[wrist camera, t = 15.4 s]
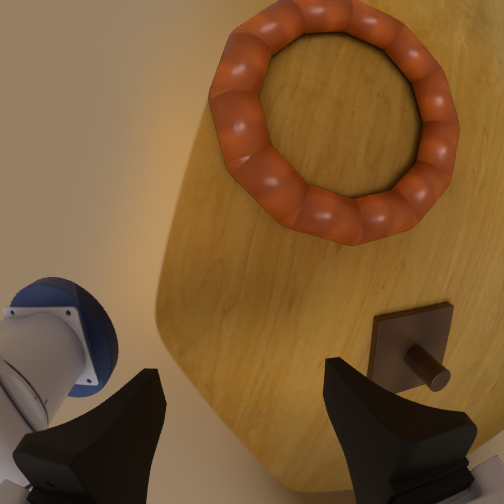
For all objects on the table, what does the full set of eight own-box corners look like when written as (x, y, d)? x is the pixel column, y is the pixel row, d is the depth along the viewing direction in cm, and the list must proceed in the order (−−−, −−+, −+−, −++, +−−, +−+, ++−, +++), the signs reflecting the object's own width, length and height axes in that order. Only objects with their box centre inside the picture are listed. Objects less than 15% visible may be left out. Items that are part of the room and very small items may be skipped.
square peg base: (363, 394, 24) (388, 433, 19) (373, 316, 23) (408, 348, 17) (432, 374, 25) (462, 404, 20) (447, 301, 23) (486, 324, 18)
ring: (251, 267, 21) (256, 280, 18) (188, 25, 17) (184, 5, 14) (457, 208, 22) (481, 212, 19) (402, 11, 18) (419, -3, 15)
